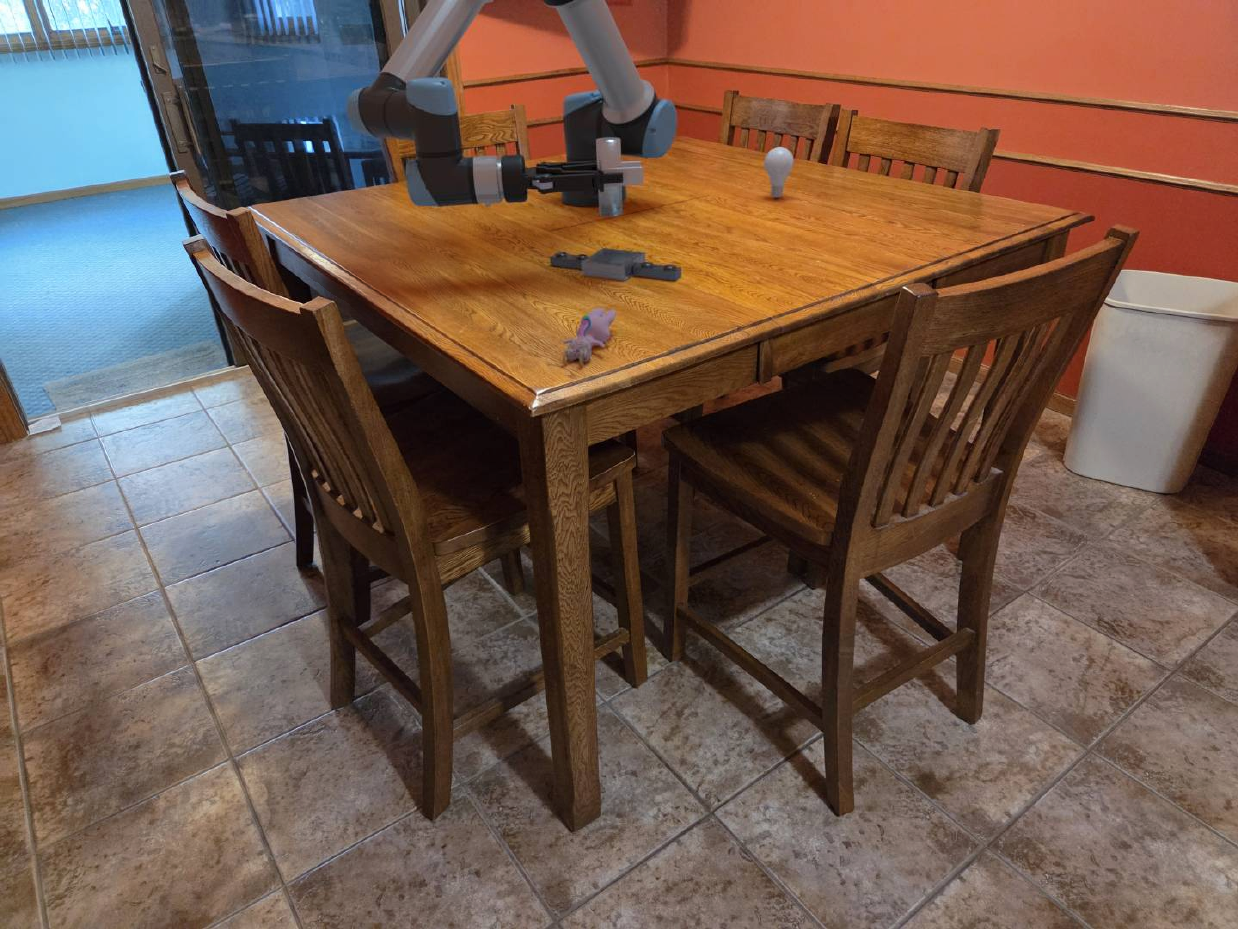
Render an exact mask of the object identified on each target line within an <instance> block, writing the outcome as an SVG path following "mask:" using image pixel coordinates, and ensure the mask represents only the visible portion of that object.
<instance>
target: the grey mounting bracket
mask: <svg viewBox="0 0 1238 929" xmlns="http://www.w3.org/2000/svg"><path fill="white" fill-rule="evenodd" d="M549 261H550V266H551V265H552V267H558V266H559V267H558V268H567V269H574V270H575V269H576V270H581V274H582V277H590V278H591V277H592V278H599V279H607V280H615V281H621V282H622V281H623V282H626V281H627V280H628V279H630V278H632V277H638V276H642V277H641V278H646V277H649V278H648V279H654V278H656V279H655V280H663V281H671V282H676V281H678V280H679V279H680V278H681V277H682V267H681V266H680V267H679V266H677V265H675V264H664V265H662V264H655V263H653V262H651V261H646V252H640V251H632V250H624V249H617V248H616V249H615V248H606V247H603V248H601V249H599V250H598V251H596V252H594V253H593V254H591V255H590V256H588V254H586V253H585V254H584V253H581V254H570V253H569V254H568V252H565V251H558V252H556V253H554V254H553V255H551V256H549ZM629 277H630V278H629Z"/></svg>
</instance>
